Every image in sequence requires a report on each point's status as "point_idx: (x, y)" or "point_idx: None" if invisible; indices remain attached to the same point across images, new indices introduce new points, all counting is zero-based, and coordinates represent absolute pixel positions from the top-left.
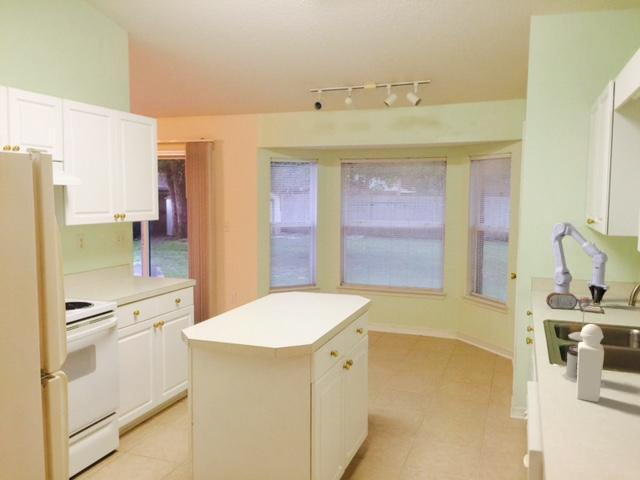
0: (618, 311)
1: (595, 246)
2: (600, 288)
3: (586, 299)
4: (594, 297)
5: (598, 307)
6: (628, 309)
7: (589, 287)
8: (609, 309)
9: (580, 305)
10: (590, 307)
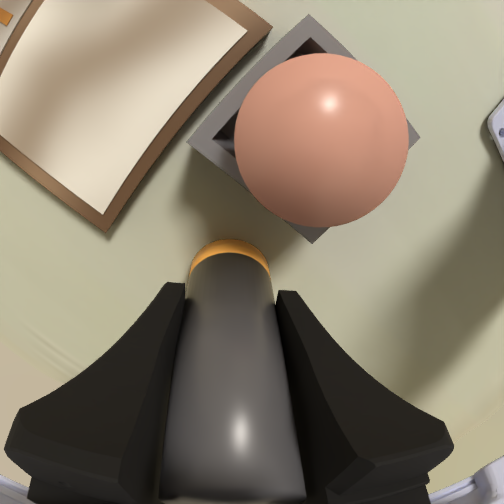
0: (30, 299)
1: None
2: (69, 490)
3: (258, 128)
4: (237, 307)
5: (90, 185)
6: None
7: (414, 439)
8: (93, 288)
9: (259, 21)
10: (98, 69)
